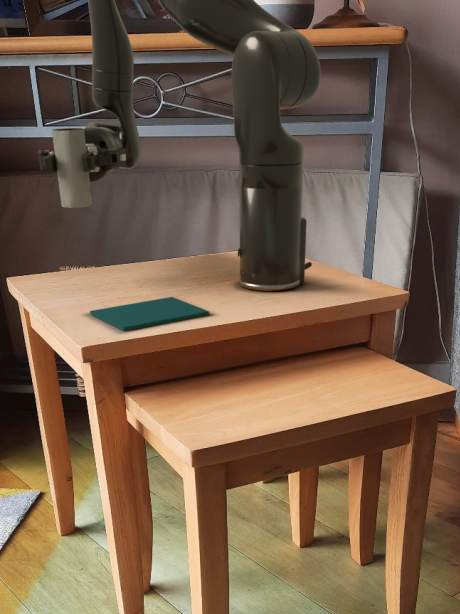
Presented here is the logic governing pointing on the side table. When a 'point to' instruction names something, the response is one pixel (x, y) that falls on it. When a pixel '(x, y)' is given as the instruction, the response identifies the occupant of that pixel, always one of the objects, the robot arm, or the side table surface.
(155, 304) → the towel
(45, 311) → the side table surface
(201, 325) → the side table surface
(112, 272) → the side table surface
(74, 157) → the planter
